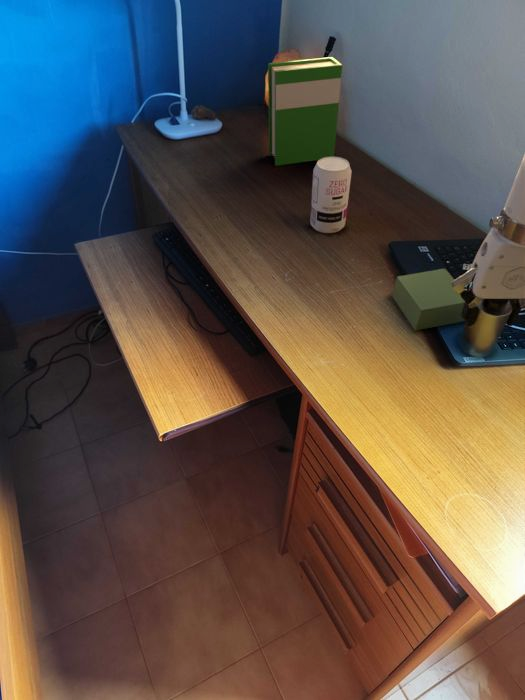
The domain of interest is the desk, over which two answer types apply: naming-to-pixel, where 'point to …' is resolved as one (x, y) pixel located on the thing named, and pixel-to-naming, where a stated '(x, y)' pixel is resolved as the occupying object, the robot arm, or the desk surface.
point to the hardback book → (303, 109)
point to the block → (428, 299)
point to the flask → (485, 327)
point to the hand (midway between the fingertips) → (486, 319)
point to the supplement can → (330, 194)
